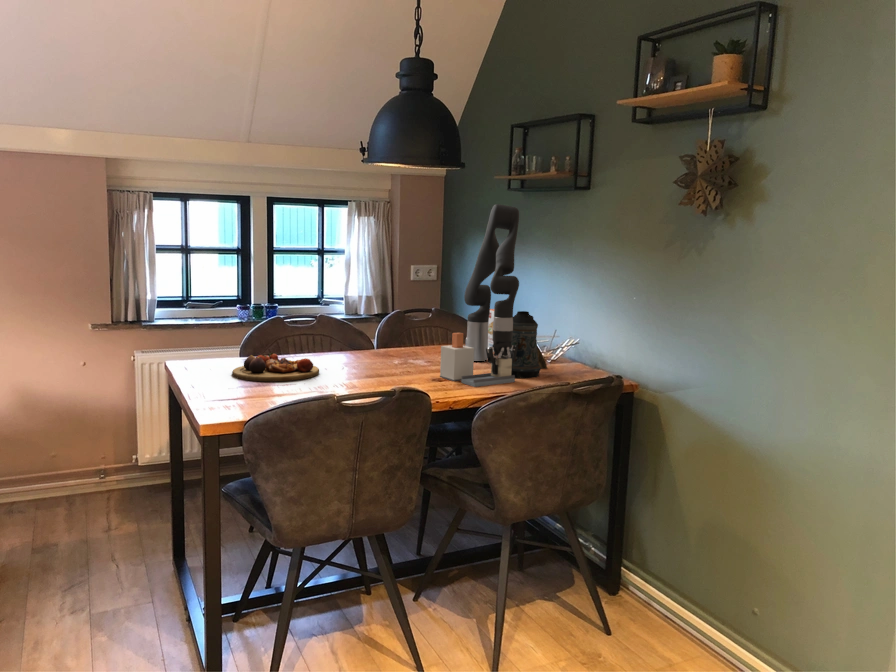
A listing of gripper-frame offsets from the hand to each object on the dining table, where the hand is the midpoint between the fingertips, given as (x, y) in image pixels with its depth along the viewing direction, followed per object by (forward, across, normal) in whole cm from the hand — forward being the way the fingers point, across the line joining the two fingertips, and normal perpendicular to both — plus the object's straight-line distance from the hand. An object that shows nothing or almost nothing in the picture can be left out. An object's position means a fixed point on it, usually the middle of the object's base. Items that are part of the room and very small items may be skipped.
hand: (501, 373), depth 265 cm
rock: (+3, -32, -17) cm, 36 cm away
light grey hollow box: (+3, +12, -12) cm, 17 cm away
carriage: (+1, 0, 0) cm, 1 cm away
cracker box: (+3, -36, -47) cm, 59 cm away
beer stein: (+3, -16, -8) cm, 18 cm away
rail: (+3, +6, 0) cm, 7 cm away
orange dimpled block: (-5, +12, -12) cm, 18 cm away
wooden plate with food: (+4, +69, -49) cm, 85 cm away
